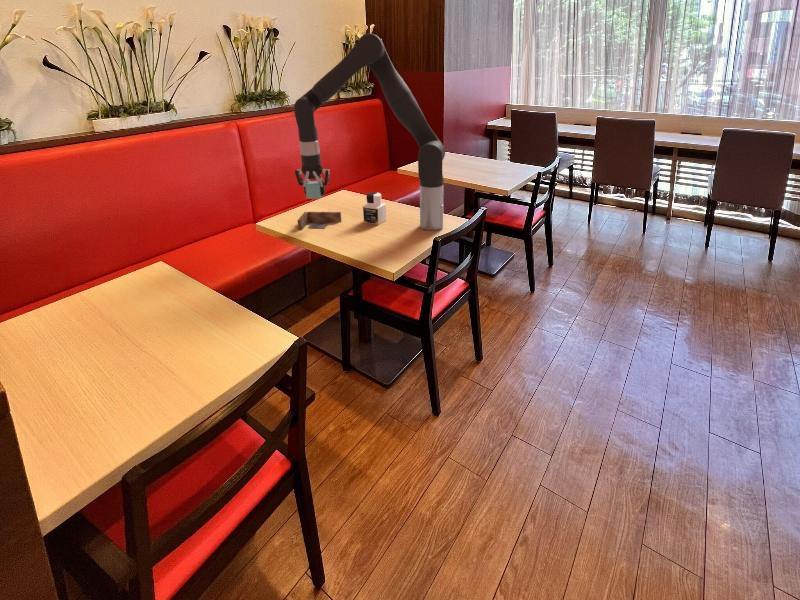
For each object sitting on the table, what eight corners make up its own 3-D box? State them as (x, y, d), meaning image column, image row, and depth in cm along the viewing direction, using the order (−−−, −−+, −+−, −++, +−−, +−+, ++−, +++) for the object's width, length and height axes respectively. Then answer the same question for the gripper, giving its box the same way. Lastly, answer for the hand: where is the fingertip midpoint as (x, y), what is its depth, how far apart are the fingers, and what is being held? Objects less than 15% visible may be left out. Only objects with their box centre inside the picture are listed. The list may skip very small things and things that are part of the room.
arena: (341, 221, 206) (340, 211, 204) (335, 230, 196) (334, 220, 194) (306, 220, 207) (304, 211, 205) (298, 229, 198) (297, 220, 196)
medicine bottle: (363, 222, 203) (361, 194, 197) (372, 217, 208) (370, 190, 203) (378, 225, 200) (376, 196, 194) (386, 219, 205) (385, 192, 200)
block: (323, 194, 198) (322, 181, 195) (320, 198, 193) (318, 185, 190) (310, 194, 198) (308, 181, 196) (306, 198, 194) (305, 185, 191)
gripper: (330, 150, 190) (334, 192, 198) (295, 150, 191) (300, 192, 199) (325, 154, 183) (330, 198, 191) (289, 154, 185) (295, 198, 193)
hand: (315, 195), depth 195 cm, fingers closed on block, 5 cm apart
